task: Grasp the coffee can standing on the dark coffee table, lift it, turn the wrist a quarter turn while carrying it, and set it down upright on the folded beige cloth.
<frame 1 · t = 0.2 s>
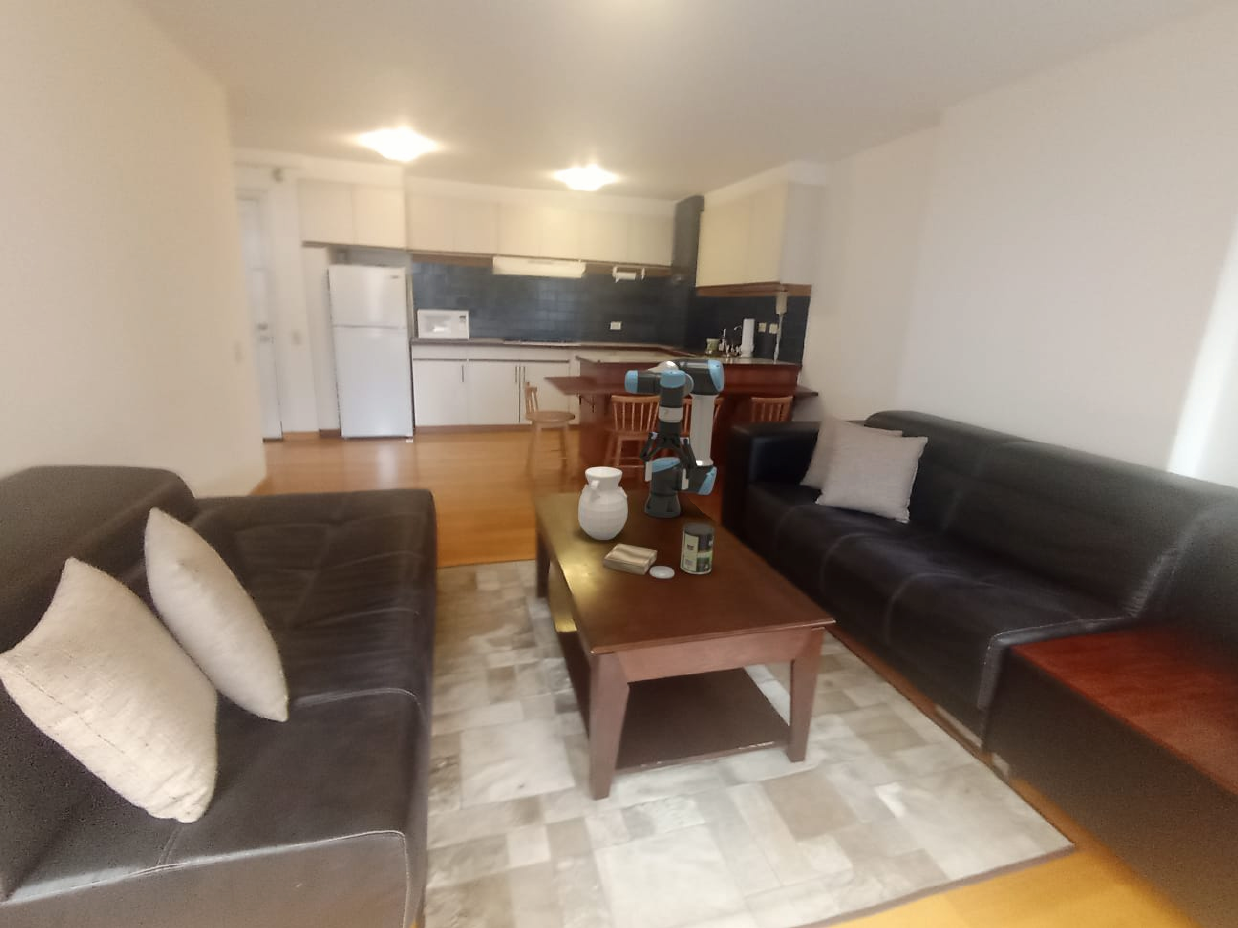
hand: (666, 484, 187), 28 cm above the table, fingers open, 13 cm apart
coaster: (661, 573, 187), on the table
coffee can: (695, 568, 192), on the table
pitcher: (601, 535, 217), on the table
folded beige cloth: (630, 562, 194), on the table
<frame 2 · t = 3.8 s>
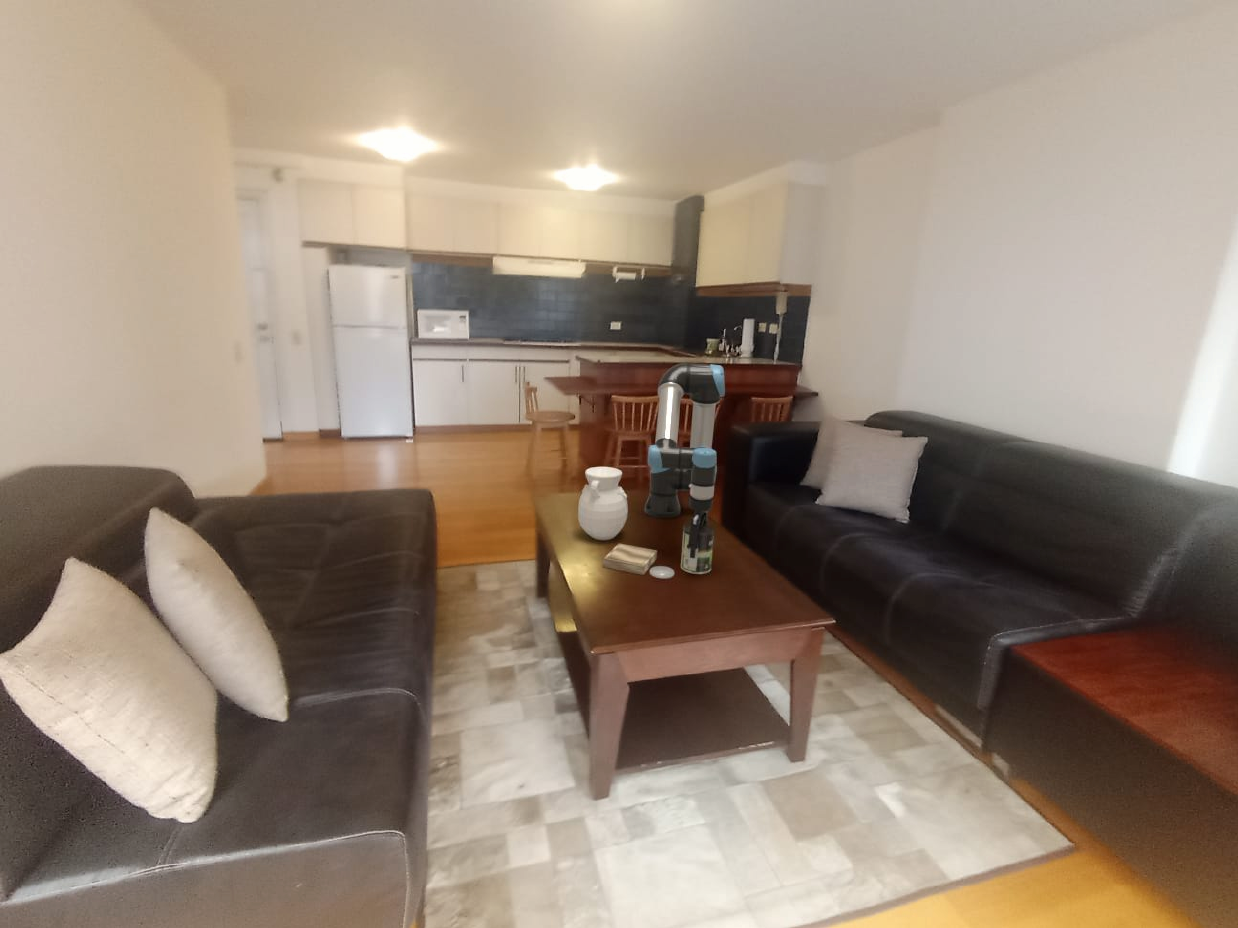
hand: (696, 559, 192), 3 cm above the table, fingers closed on coffee can, 10 cm apart
coffee can: (695, 568, 192), on the table, touching gripper
everything else where it was.
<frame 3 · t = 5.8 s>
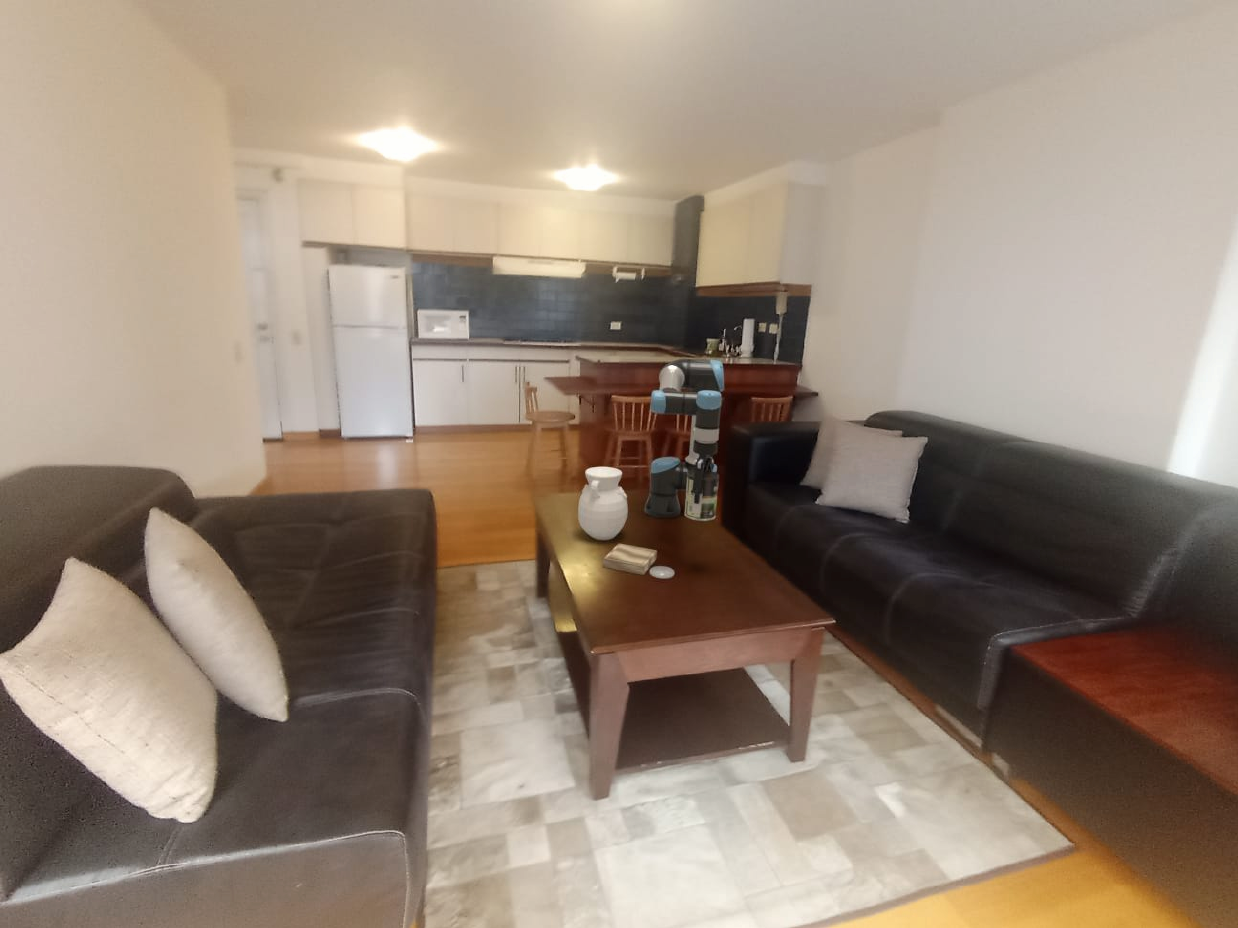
hand: (700, 507, 187), 21 cm above the table, fingers closed on coffee can, 10 cm apart
coffee can: (699, 515, 188), point 18 cm above the table, touching gripper
everything else where it was.
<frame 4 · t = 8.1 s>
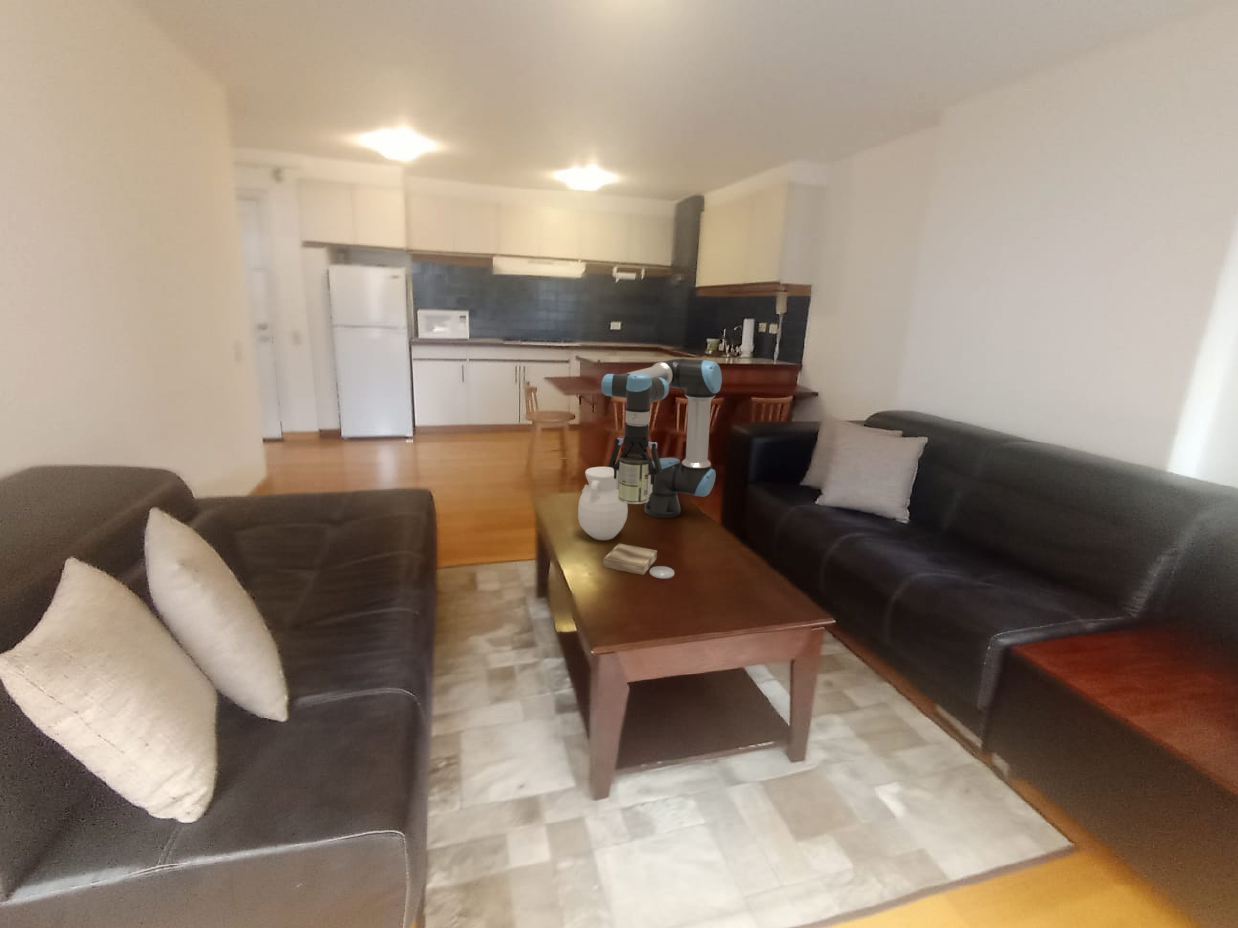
hand: (633, 491, 187), 25 cm above the table, fingers closed on coffee can, 10 cm apart
coffee can: (633, 499, 188), point 22 cm above the table, touching gripper
everything else where it was.
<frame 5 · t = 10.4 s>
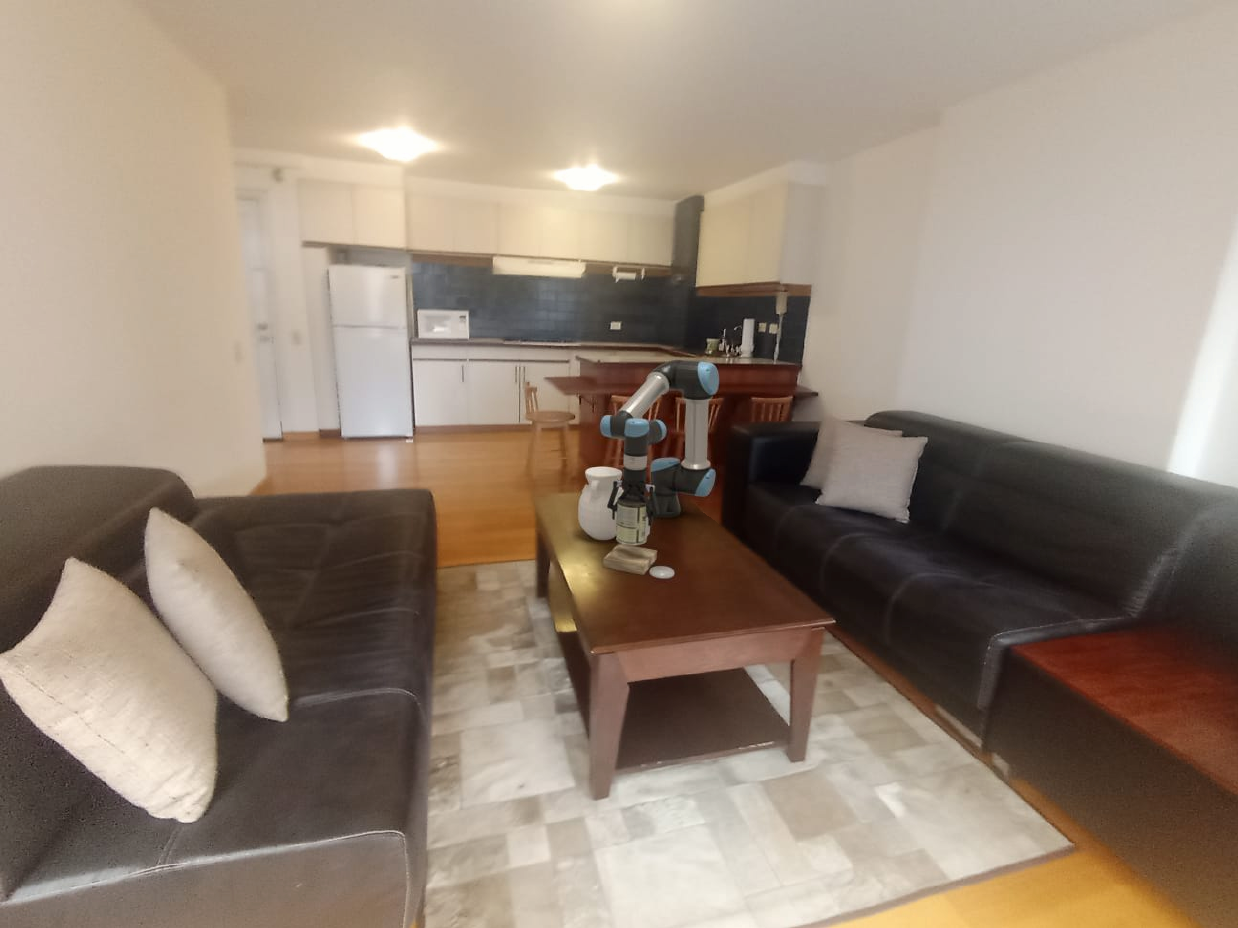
hand: (631, 531, 191), 11 cm above the table, fingers closed on coffee can, 10 cm apart
coffee can: (631, 540, 192), point 8 cm above the table, touching gripper
everything else where it was.
when the fingers open (7 cm above the table, at t = 12.3 s): coffee can drops 1 cm, resting on folded beige cloth.
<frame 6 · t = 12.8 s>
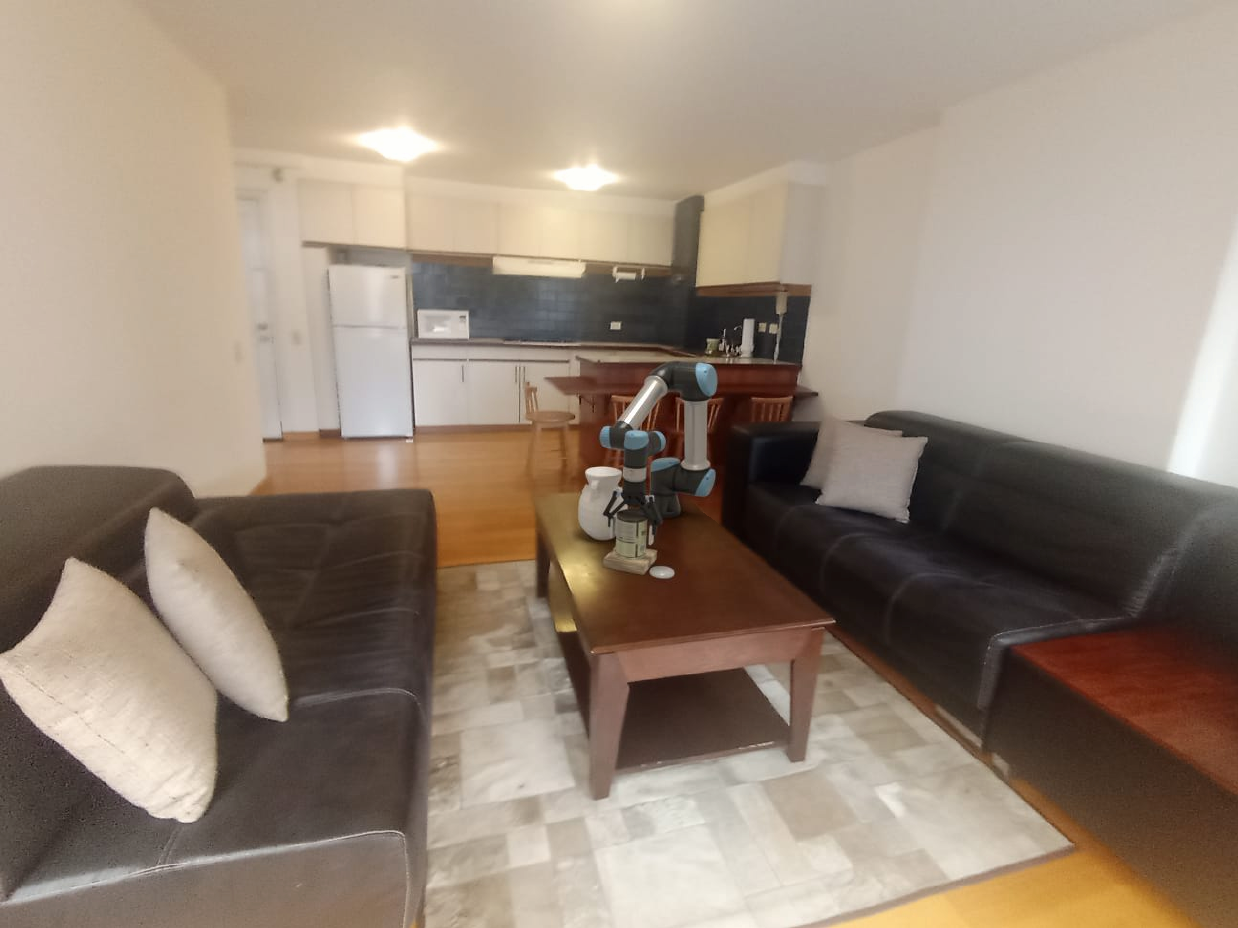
hand: (631, 539, 192), 8 cm above the table, fingers open, 13 cm apart
coffee can: (630, 554, 193), point 3 cm above the table, touching folded beige cloth
everything else where it was.
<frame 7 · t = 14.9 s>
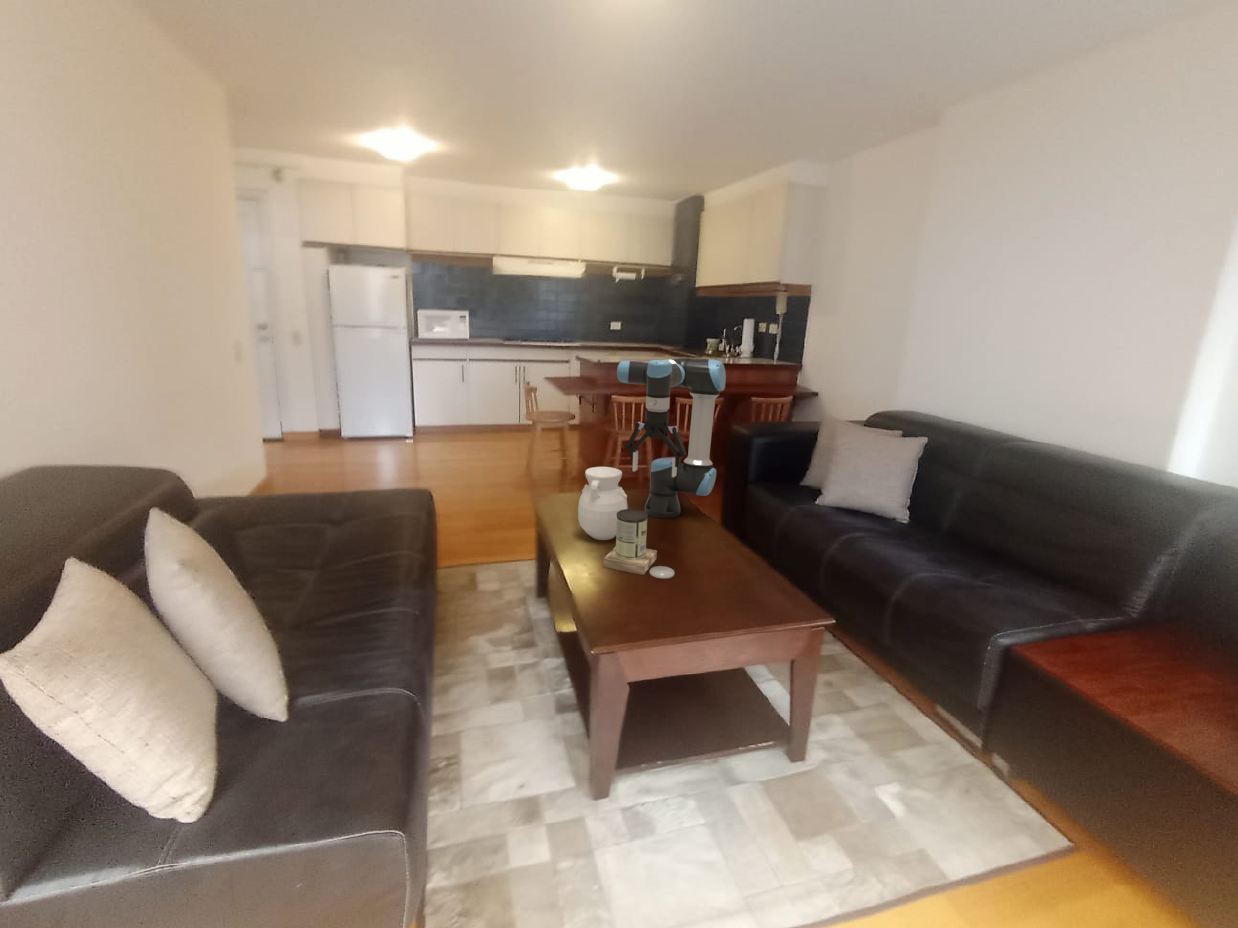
hand: (654, 473, 190), 30 cm above the table, fingers open, 13 cm apart
nothing on the table moved.
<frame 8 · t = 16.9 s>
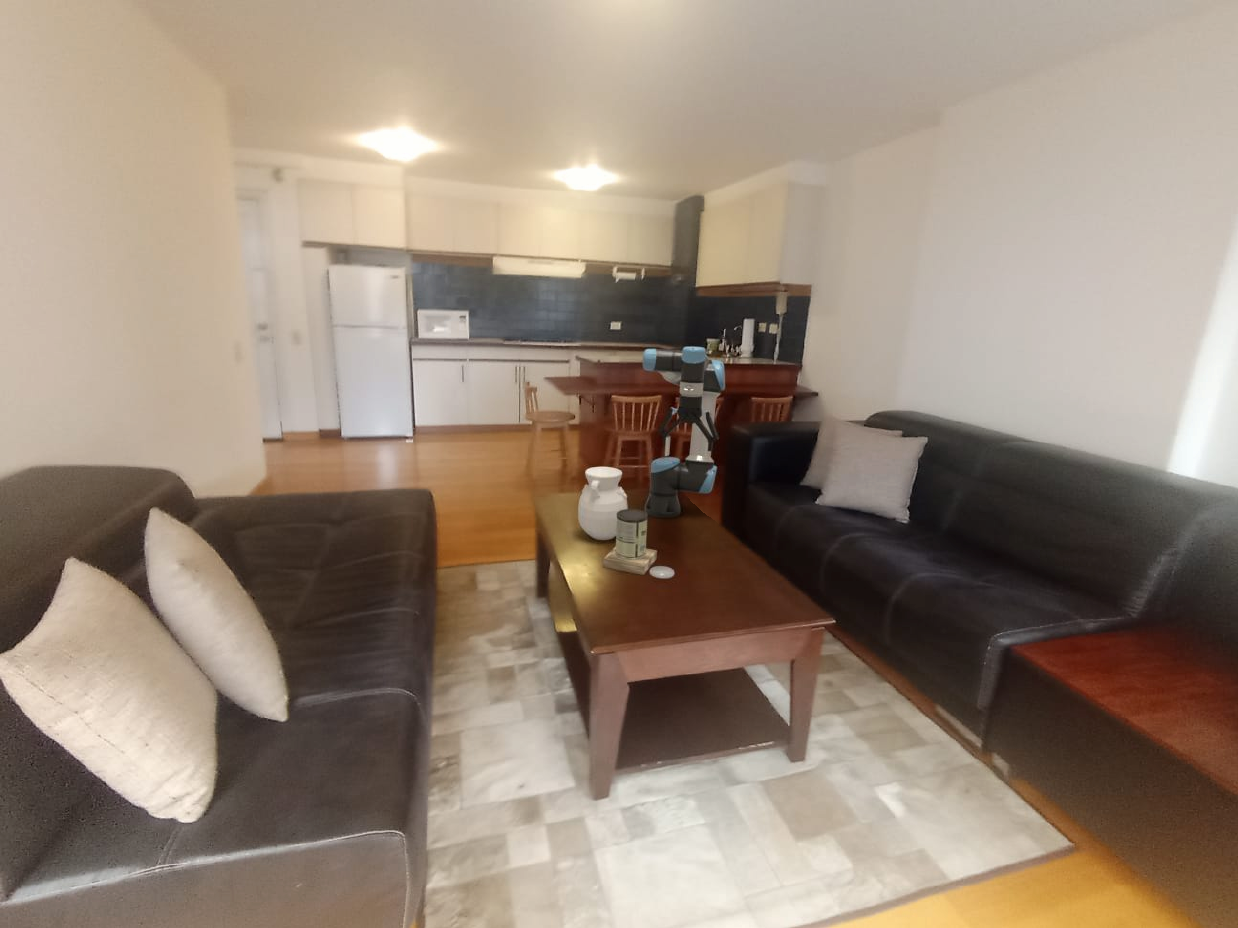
hand: (686, 457, 194), 35 cm above the table, fingers open, 13 cm apart
nothing on the table moved.
at the end: coffee can 0.2 cm from the folded beige cloth (horizontally); coffee can point 3.0 cm above the table; coffee can tilted 0° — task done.
